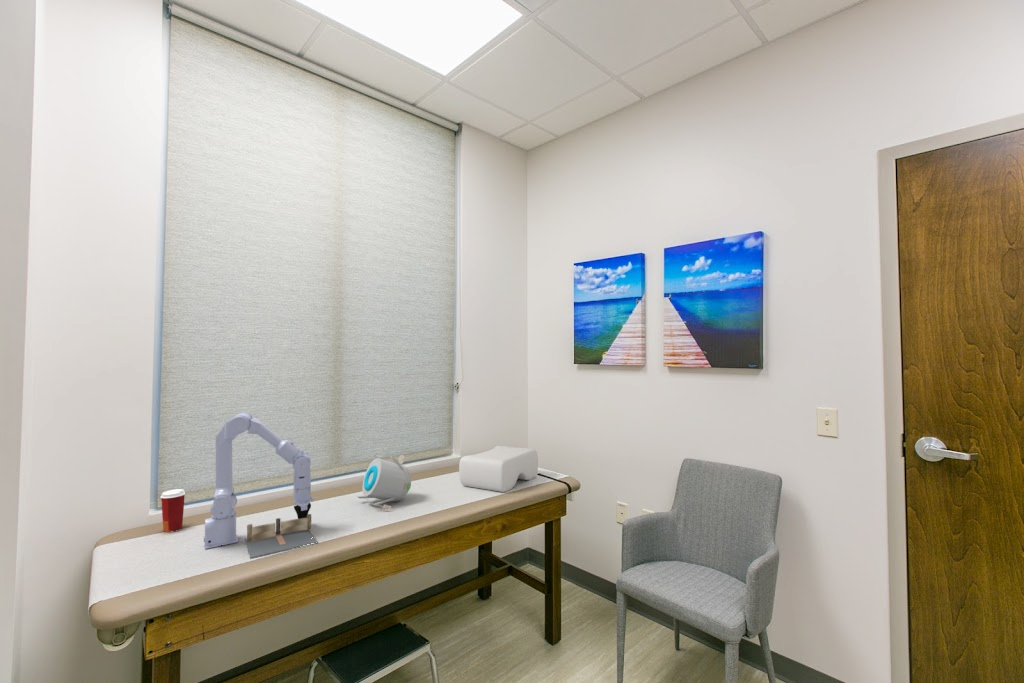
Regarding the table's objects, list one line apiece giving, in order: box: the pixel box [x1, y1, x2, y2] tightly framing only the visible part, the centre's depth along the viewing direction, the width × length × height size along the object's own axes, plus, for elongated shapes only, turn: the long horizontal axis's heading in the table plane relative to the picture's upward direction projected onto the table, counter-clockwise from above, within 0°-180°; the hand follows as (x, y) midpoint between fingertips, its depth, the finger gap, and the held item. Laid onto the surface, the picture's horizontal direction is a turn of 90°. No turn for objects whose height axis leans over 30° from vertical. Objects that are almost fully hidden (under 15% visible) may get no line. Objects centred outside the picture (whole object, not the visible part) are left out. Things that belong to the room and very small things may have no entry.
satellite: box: [358, 452, 412, 512], centre depth 200 cm, size 23×20×25 cm
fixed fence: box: [246, 522, 276, 542], centre depth 160 cm, size 9×2×5 cm, turn 125°
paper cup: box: [159, 488, 186, 533], centre depth 171 cm, size 8×8×14 cm
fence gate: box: [275, 513, 312, 535], centre depth 165 cm, size 12×2×5 cm, turn 116°
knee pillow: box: [458, 445, 539, 493], centre depth 229 cm, size 35×25×15 cm
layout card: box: [244, 529, 319, 560], centre depth 158 cm, size 20×19×1 cm
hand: (302, 525), depth 167 cm, fingers closed
